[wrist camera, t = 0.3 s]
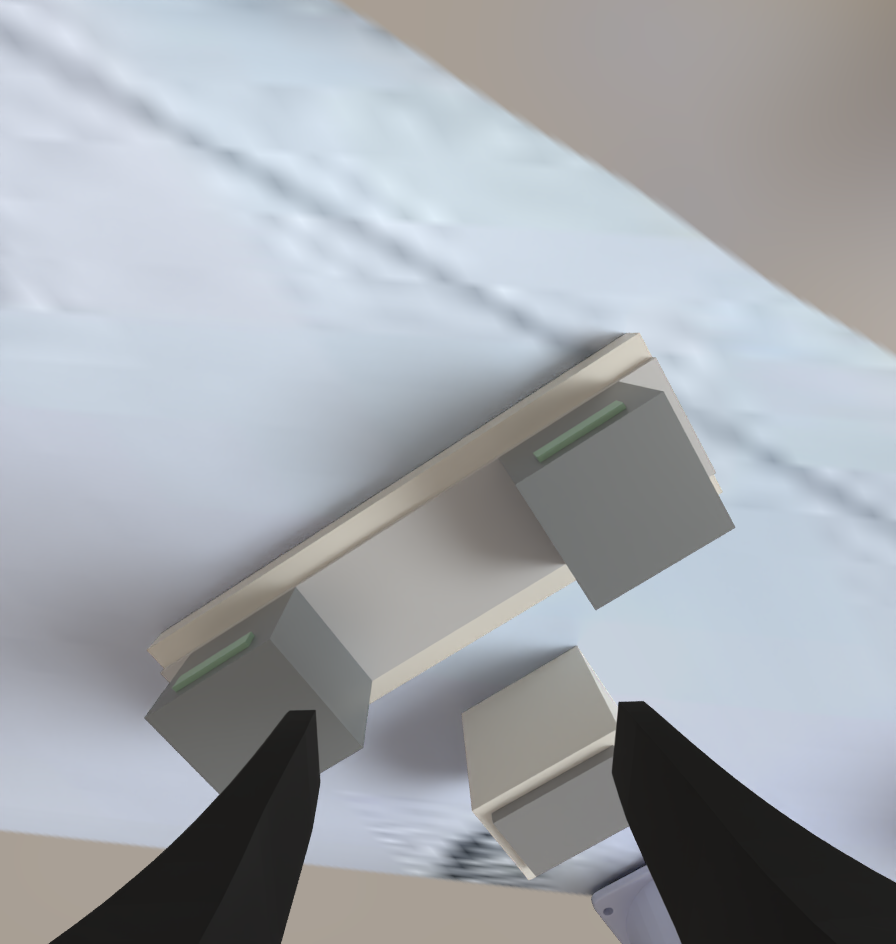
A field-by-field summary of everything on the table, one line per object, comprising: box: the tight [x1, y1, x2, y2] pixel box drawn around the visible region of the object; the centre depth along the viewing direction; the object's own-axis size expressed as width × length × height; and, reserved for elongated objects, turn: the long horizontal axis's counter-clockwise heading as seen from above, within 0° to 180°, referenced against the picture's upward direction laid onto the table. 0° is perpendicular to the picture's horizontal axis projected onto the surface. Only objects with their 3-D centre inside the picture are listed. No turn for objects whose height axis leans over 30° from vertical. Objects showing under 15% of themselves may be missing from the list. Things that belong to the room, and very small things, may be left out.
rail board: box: [145, 333, 735, 794], centre depth 19 cm, size 7×22×5 cm, turn 123°
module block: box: [461, 646, 629, 880], centre depth 21 cm, size 4×6×5 cm, turn 123°
